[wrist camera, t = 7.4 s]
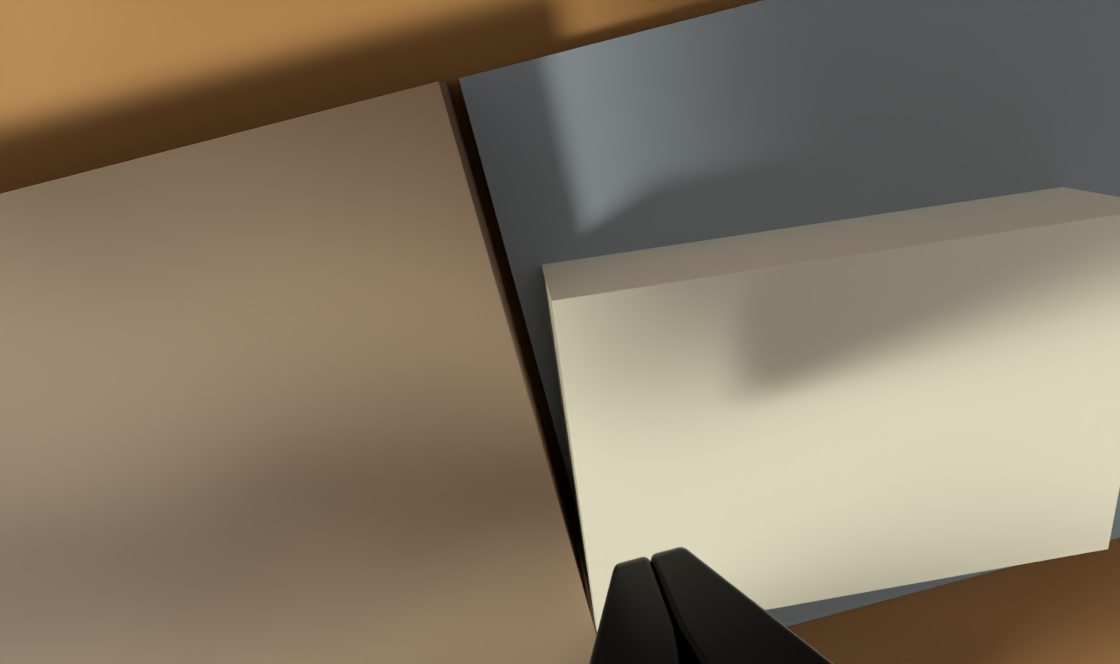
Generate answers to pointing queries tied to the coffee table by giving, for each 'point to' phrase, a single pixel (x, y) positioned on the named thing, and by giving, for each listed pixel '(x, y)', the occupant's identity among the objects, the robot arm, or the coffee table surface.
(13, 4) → the coffee table surface
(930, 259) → the tile
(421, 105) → the plate
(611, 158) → the mat
